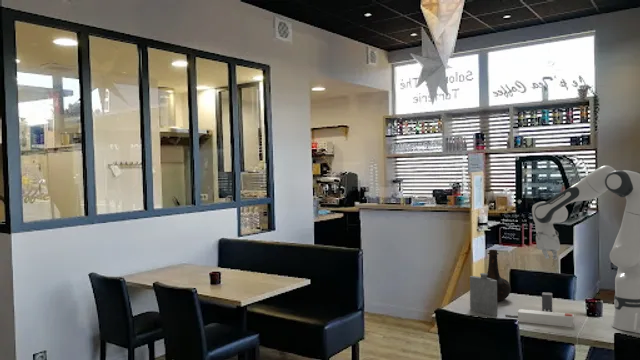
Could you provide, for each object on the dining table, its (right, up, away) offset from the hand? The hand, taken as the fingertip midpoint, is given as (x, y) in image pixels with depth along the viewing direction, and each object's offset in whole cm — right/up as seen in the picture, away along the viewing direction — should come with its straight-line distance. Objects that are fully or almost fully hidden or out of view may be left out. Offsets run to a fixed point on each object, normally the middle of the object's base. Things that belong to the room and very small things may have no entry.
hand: (551, 258), depth 272 cm
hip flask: (-36, -27, -2) cm, 45 cm away
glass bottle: (-22, -27, +24) cm, 42 cm away
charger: (-5, -27, -8) cm, 28 cm away
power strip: (-15, -27, -21) cm, 38 cm away
